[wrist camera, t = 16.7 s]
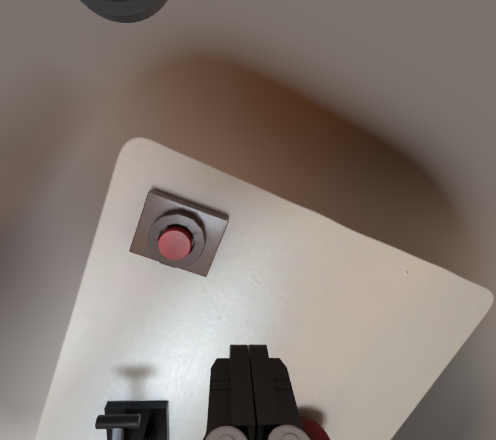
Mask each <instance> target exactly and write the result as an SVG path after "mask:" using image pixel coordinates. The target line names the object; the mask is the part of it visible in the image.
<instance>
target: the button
mask: <svg viewBox="0 0 496 440" xmlns="http://www.w3.org/2000/svg"><path fill="white" fill-rule="evenodd" d="M191 245H192V237H191V235H190V233H189V232H188V231H187V230H186V229H185V228H183V227H180V226H172V227H169V228H168V229H166V230H165V231H164V232H163V234H162V235H161V237H160V239H159V241H158V248H159V251H160V253H161V254H162V255H163V256H164V257H165V258H167V259H169V260H180V259H183V258H184V257H186V256H187V255H188V253H189V251H190V248H191Z"/></svg>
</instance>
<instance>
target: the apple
mask: <svg viewBox="0 0 496 440" xmlns="http://www.w3.org/2000/svg"><path fill="white" fill-rule="evenodd" d="M300 421H301V424H302V428H303V430H304V432H305V433H306V434H307V435H308V437H309V438H310V440H330V438H329V437H328V435H327V433H326V432H325V431H324V429H323V428H322V427H321V426H320V425H318V424H317V423H316V422H314V421H312V420H310V419H307V418H300Z"/></svg>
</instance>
